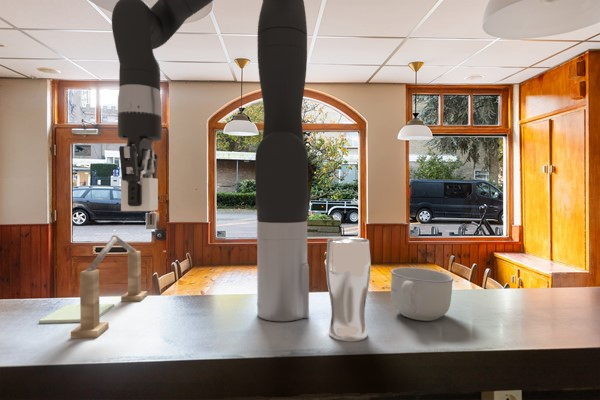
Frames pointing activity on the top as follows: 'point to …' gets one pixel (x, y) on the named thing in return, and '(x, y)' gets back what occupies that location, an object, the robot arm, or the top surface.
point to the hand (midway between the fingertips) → (140, 205)
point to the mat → (71, 314)
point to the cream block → (147, 196)
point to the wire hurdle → (91, 290)
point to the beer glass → (348, 287)
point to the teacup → (421, 292)
